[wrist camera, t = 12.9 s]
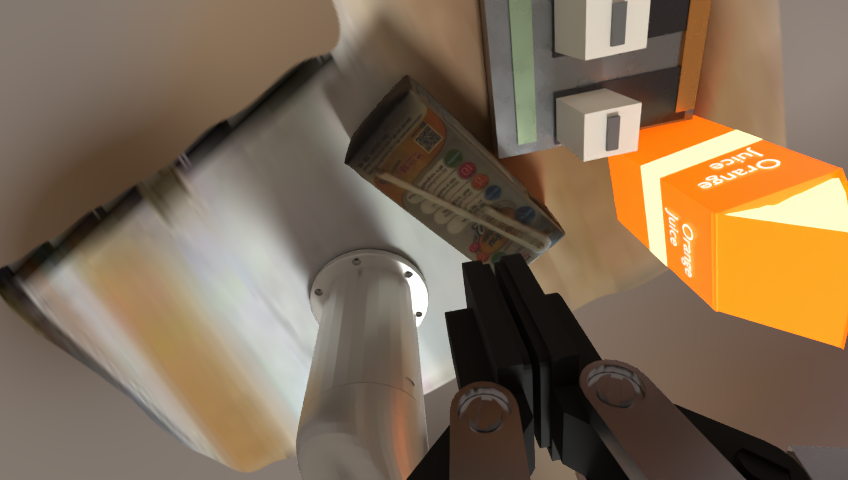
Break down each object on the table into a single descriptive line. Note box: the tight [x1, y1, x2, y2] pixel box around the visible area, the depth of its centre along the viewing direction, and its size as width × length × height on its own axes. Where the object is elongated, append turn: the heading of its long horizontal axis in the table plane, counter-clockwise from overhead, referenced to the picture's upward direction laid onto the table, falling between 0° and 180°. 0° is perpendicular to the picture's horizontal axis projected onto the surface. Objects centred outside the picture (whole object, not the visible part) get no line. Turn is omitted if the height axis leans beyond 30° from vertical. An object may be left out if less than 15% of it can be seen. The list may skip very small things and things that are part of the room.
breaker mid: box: [554, 0, 651, 61], centre depth 28 cm, size 4×4×6 cm
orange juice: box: [608, 115, 848, 349], centre depth 31 cm, size 8×9×20 cm
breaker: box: [556, 88, 642, 162], centre depth 31 cm, size 4×4×6 cm
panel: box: [479, 0, 712, 159], centre depth 31 cm, size 19×17×2 cm
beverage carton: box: [344, 75, 565, 275], centre depth 35 cm, size 8×19×7 cm, turn 48°
